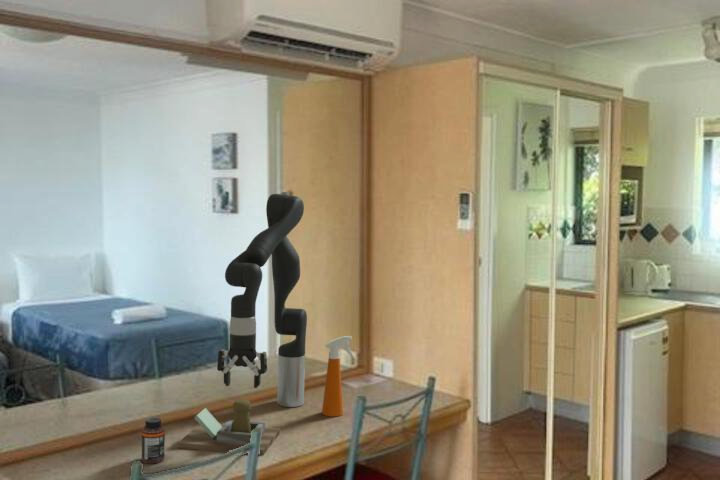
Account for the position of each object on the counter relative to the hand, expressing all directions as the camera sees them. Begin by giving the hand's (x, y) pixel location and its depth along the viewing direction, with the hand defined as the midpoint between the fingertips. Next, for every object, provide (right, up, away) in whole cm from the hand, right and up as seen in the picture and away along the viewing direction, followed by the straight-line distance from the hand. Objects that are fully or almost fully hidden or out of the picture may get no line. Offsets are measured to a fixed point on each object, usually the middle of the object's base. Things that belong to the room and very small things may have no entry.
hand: (241, 386), depth 205 cm
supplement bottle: (-22, -17, -14) cm, 31 cm away
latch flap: (-10, -12, +2) cm, 16 cm away
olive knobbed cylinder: (0, -15, +1) cm, 15 cm away
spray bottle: (+27, -16, +31) cm, 44 cm away
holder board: (-4, -16, +3) cm, 17 cm away
